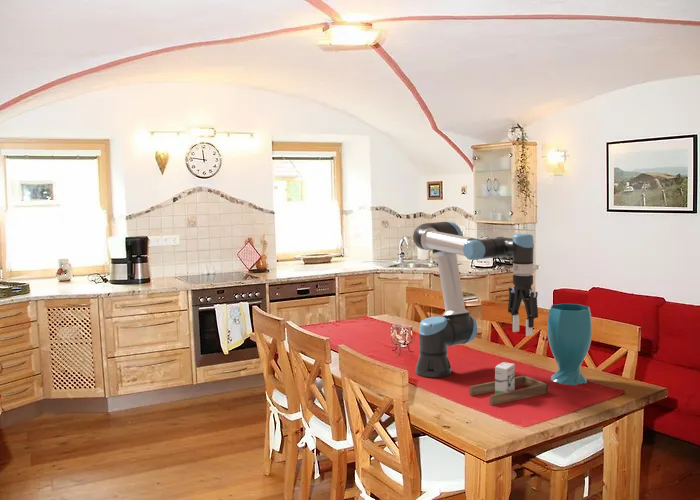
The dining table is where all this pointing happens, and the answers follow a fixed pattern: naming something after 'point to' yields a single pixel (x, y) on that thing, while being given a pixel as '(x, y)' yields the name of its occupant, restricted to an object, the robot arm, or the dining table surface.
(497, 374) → the ink box
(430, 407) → the dining table surface
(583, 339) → the vase
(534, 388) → the walnut frame
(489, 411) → the dining table surface
